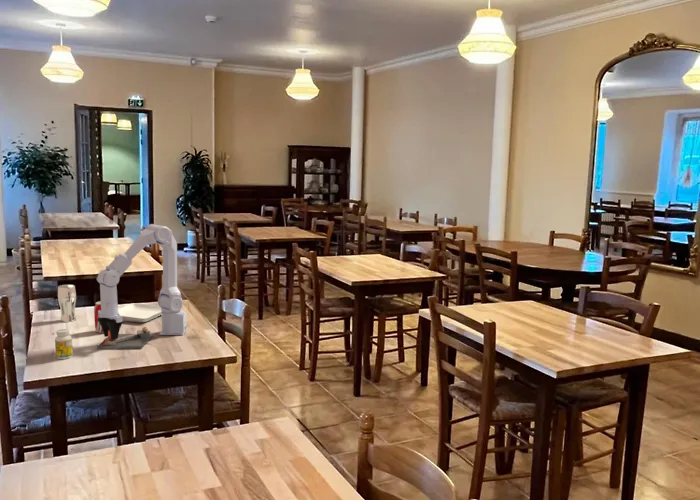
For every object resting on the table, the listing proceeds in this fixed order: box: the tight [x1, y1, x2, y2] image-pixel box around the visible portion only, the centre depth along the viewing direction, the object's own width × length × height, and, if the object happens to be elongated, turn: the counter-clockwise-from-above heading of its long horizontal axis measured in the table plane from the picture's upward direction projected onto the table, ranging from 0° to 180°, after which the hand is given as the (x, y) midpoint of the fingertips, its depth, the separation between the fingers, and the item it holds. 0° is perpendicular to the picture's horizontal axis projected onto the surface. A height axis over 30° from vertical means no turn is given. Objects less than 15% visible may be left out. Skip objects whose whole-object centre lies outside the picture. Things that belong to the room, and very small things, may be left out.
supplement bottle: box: [54, 328, 74, 360], centre depth 214 cm, size 5×5×10 cm
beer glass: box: [57, 284, 77, 323], centre depth 261 cm, size 7×7×15 cm
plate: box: [96, 326, 154, 350], centre depth 232 cm, size 16×16×5 cm
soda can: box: [93, 300, 104, 334], centre depth 245 cm, size 7×7×12 cm
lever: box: [108, 329, 151, 343], centre depth 233 cm, size 17×3×5 cm, turn 144°
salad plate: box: [118, 302, 162, 323], centre depth 269 cm, size 21×21×3 cm
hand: (111, 337), depth 228 cm, fingers open, 5 cm apart
